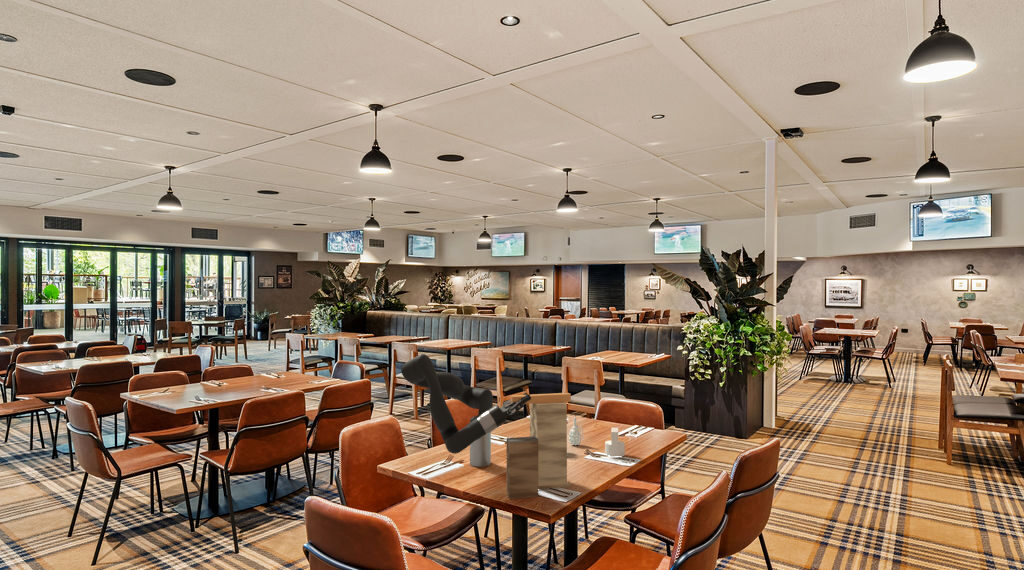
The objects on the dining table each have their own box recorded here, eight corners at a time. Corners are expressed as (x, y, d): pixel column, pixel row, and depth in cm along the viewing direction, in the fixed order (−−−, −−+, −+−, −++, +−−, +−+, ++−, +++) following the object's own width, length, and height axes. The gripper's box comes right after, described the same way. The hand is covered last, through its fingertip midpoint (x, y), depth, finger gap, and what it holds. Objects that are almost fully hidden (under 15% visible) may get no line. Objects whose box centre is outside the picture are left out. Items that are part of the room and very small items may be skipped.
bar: (510, 403, 218) (510, 395, 218) (568, 400, 224) (568, 392, 224) (512, 404, 215) (512, 396, 215) (570, 401, 221) (570, 394, 221)
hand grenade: (567, 446, 274) (567, 417, 274) (570, 443, 280) (570, 415, 280) (582, 447, 271) (582, 419, 271) (585, 444, 277) (585, 416, 277)
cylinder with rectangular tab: (624, 459, 253) (624, 432, 253) (604, 457, 254) (604, 431, 255) (624, 453, 261) (624, 427, 262) (605, 452, 263) (605, 427, 263)
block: (506, 494, 207) (506, 438, 207) (534, 492, 209) (534, 436, 210) (509, 499, 202) (509, 441, 203) (538, 496, 205) (538, 439, 205)
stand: (527, 480, 223) (526, 400, 224) (560, 477, 227) (559, 398, 228) (535, 490, 212) (535, 405, 212) (570, 486, 215) (570, 403, 216)
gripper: (490, 415, 207) (529, 390, 211) (483, 407, 221) (519, 384, 225) (500, 431, 208) (538, 406, 212) (492, 423, 221) (528, 400, 225)
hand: (528, 395), depth 218 cm, fingers closed on bar, 3 cm apart
